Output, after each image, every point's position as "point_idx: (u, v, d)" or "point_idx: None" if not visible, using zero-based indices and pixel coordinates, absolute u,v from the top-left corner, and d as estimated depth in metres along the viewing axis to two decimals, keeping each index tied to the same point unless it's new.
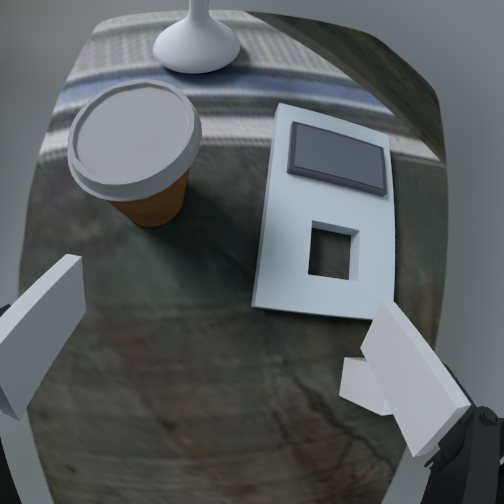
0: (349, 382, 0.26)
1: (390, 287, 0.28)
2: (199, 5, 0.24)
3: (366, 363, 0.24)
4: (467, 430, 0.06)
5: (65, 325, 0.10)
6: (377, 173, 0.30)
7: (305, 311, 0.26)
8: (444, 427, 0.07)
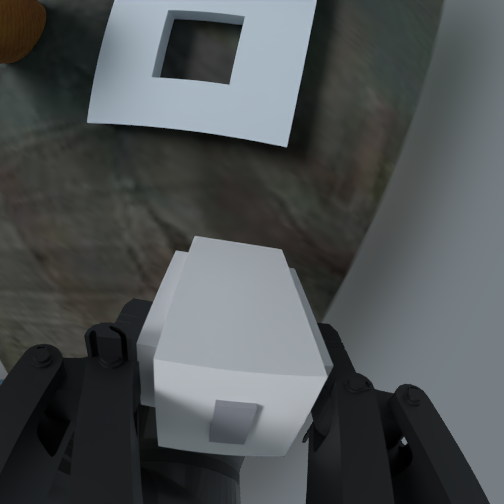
0: None
1: (289, 98, 0.17)
2: None
3: None
4: (332, 403, 0.07)
5: None
6: None
7: (145, 124, 0.18)
8: None
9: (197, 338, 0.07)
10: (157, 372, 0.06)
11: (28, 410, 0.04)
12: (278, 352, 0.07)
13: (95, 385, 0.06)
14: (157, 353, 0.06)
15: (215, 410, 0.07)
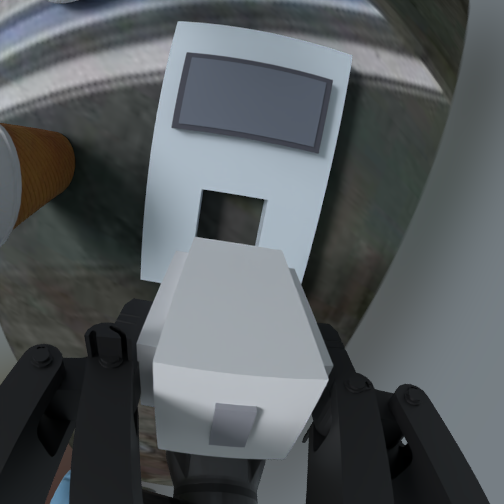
0: None
1: (300, 268, 0.26)
2: None
3: None
4: (332, 403, 0.07)
5: None
6: (310, 122, 0.20)
7: None
8: None
9: (196, 341, 0.07)
10: (156, 375, 0.06)
11: (28, 410, 0.04)
12: (278, 354, 0.07)
13: (95, 385, 0.06)
14: (156, 356, 0.06)
15: (215, 414, 0.06)
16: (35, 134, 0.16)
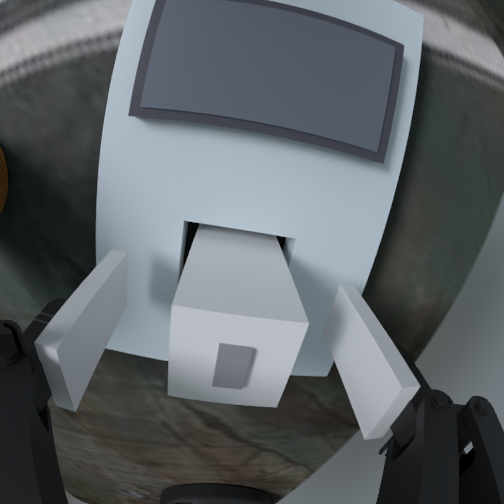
0: None
1: None
2: None
3: (188, 257, 0.12)
4: (418, 416, 0.07)
5: (113, 318, 0.11)
6: (372, 109, 0.11)
7: None
8: (392, 408, 0.08)
9: (205, 292, 0.09)
10: (173, 317, 0.08)
11: None
12: (269, 304, 0.09)
13: None
14: (174, 301, 0.08)
15: (219, 352, 0.09)
16: None
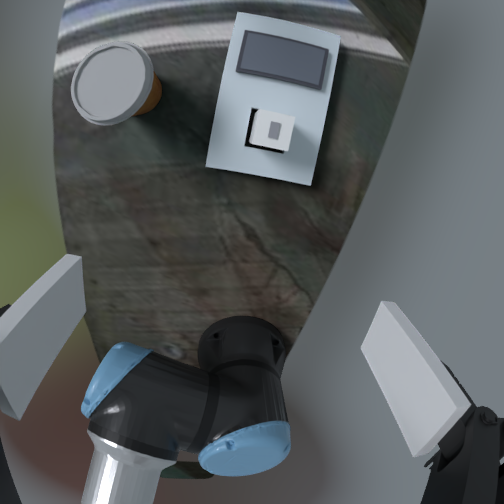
0: None
1: (312, 161, 0.38)
2: None
3: (256, 112, 0.33)
4: (467, 430, 0.06)
5: (66, 325, 0.10)
6: (316, 71, 0.32)
7: (240, 171, 0.38)
8: (444, 427, 0.07)
9: None
10: (259, 112, 0.30)
11: None
12: None
13: None
14: (259, 109, 0.30)
15: (271, 123, 0.30)
16: None
